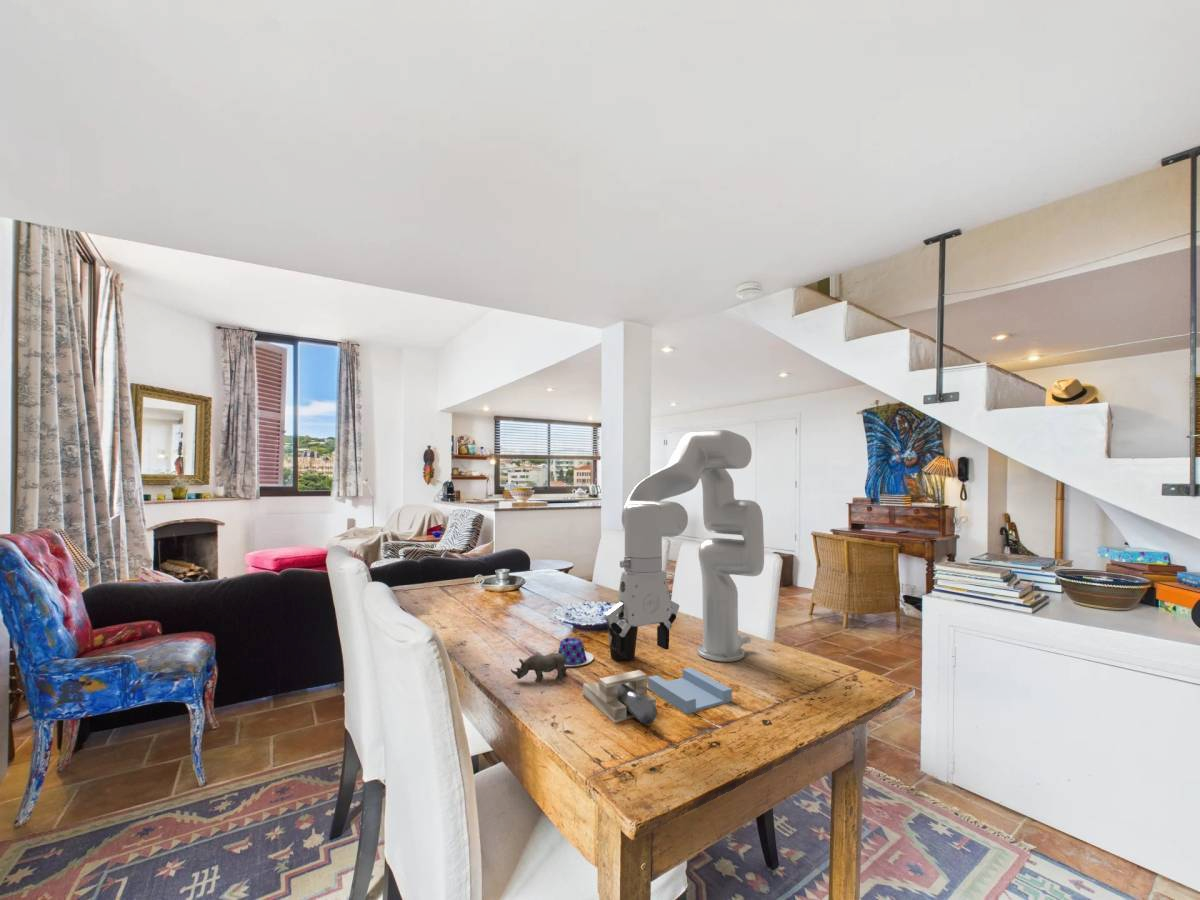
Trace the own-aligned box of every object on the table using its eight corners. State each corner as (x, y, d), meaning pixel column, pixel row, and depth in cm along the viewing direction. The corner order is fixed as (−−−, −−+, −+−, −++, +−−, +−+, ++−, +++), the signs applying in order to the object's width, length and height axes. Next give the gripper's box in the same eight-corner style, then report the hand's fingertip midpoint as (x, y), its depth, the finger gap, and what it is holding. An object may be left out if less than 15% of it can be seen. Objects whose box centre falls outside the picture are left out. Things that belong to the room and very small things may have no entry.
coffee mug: (636, 664, 130) (636, 625, 130) (604, 661, 131) (604, 623, 132) (641, 649, 141) (641, 613, 142) (611, 647, 143) (611, 611, 143)
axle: (607, 700, 108) (607, 681, 108) (623, 696, 110) (623, 677, 110) (639, 726, 96) (639, 705, 97) (656, 722, 98) (656, 701, 99)
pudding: (544, 655, 137) (544, 635, 137) (586, 650, 141) (586, 631, 141) (554, 671, 126) (554, 650, 126) (599, 665, 130) (599, 645, 130)
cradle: (690, 678, 121) (690, 667, 121) (731, 701, 109) (731, 688, 109) (648, 688, 115) (647, 677, 115) (686, 714, 103) (686, 701, 103)
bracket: (621, 686, 116) (621, 658, 116) (656, 711, 104) (656, 680, 104) (583, 695, 111) (583, 666, 112) (614, 722, 99) (614, 690, 99)
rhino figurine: (509, 679, 121) (510, 653, 121) (565, 673, 124) (565, 648, 124) (511, 686, 117) (511, 659, 117) (569, 680, 120) (569, 654, 120)
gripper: (615, 571, 93) (615, 665, 92) (688, 564, 101) (689, 650, 100) (596, 565, 100) (596, 652, 99) (666, 559, 108) (667, 639, 107)
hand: (643, 651), depth 100 cm, fingers open, 9 cm apart
